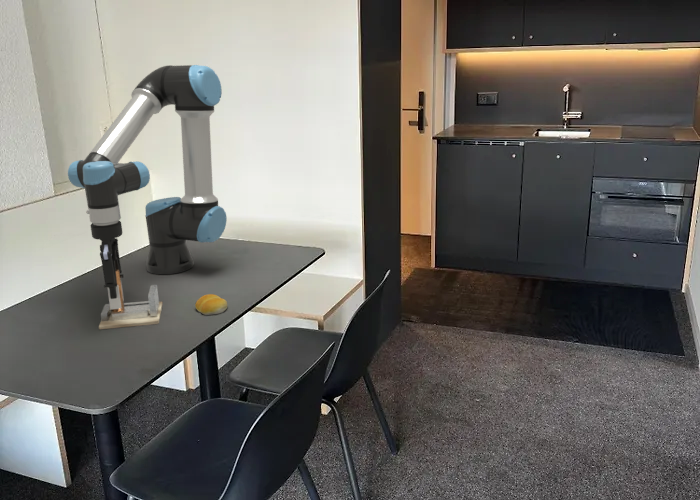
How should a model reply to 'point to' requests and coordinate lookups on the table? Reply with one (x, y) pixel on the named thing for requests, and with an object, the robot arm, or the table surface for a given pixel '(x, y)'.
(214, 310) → the bread roll
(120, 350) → the table surface
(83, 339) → the table surface
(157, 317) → the board
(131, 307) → the ram
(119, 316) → the rails
